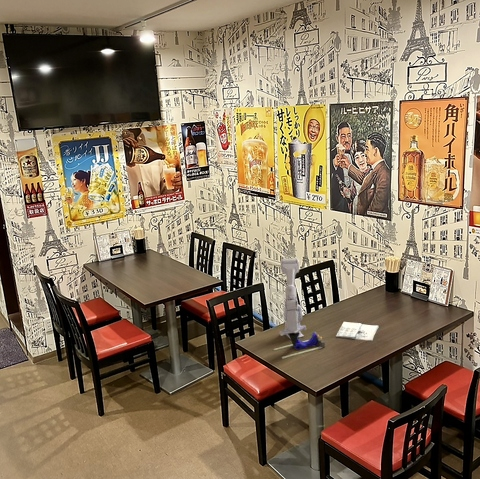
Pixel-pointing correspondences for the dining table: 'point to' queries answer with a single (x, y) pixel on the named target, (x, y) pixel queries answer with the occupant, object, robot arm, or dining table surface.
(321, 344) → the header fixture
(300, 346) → the cable clip
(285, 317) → the robot arm
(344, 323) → the open book
